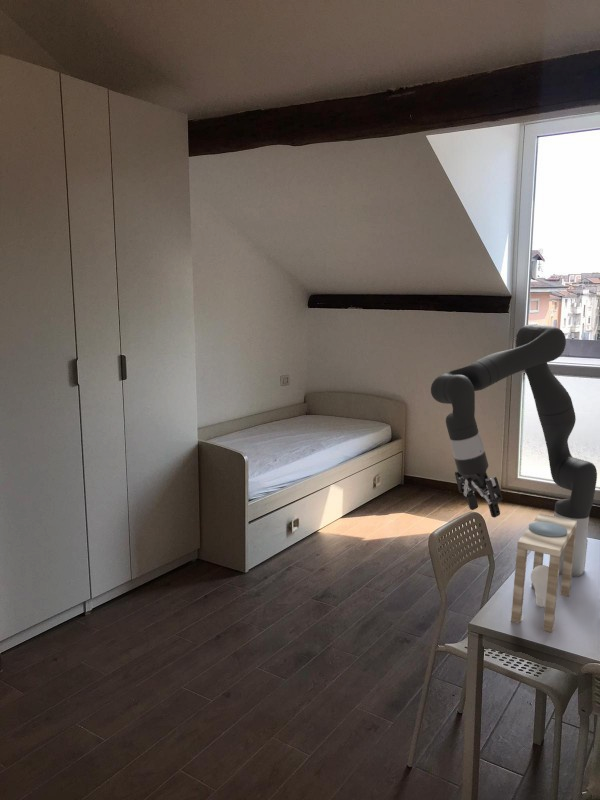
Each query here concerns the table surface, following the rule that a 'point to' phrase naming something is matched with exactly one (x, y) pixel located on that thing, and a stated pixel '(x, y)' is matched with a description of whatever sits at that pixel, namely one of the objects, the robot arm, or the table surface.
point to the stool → (542, 539)
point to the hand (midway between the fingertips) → (484, 512)
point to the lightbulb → (540, 583)
